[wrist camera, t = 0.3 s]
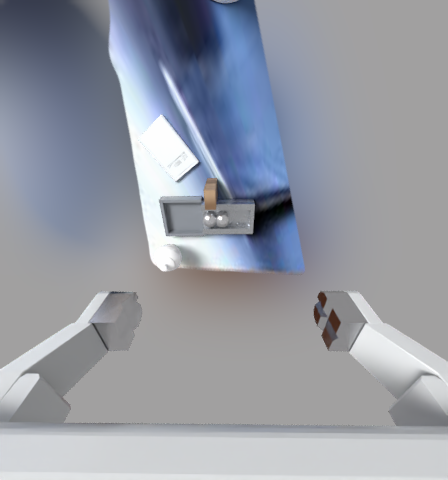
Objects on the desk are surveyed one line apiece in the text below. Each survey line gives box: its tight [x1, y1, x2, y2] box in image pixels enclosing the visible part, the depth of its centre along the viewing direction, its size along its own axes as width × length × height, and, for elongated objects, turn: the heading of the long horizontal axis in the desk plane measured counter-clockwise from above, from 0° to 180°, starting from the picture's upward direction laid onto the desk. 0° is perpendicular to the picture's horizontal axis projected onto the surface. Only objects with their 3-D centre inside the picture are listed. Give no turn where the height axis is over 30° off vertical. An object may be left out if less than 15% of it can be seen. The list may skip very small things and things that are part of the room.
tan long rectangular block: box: [204, 178, 218, 210], centre depth 49 cm, size 4×2×10 cm, turn 1°
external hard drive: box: [138, 114, 199, 182], centre depth 48 cm, size 2×8×12 cm
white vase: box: [154, 244, 182, 271], centre depth 57 cm, size 8×8×12 cm
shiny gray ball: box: [203, 211, 216, 227], centre depth 54 cm, size 3×3×3 cm
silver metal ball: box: [216, 211, 229, 227], centre depth 54 cm, size 3×3×3 cm
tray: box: [159, 196, 204, 236], centre depth 56 cm, size 11×11×3 cm
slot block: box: [201, 199, 255, 234], centre depth 55 cm, size 9×14×4 cm, turn 91°
